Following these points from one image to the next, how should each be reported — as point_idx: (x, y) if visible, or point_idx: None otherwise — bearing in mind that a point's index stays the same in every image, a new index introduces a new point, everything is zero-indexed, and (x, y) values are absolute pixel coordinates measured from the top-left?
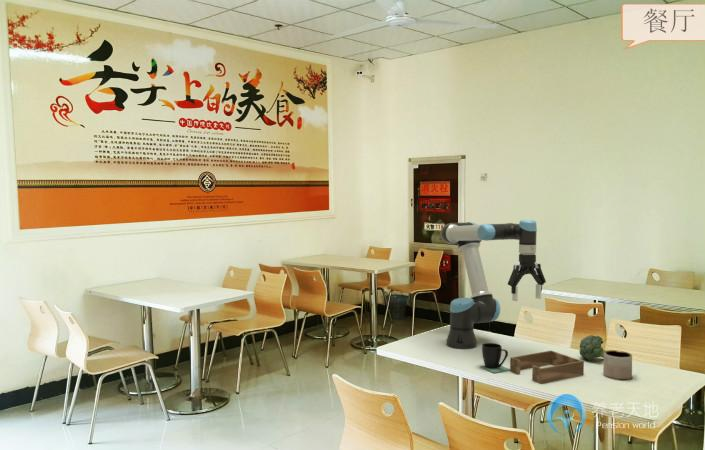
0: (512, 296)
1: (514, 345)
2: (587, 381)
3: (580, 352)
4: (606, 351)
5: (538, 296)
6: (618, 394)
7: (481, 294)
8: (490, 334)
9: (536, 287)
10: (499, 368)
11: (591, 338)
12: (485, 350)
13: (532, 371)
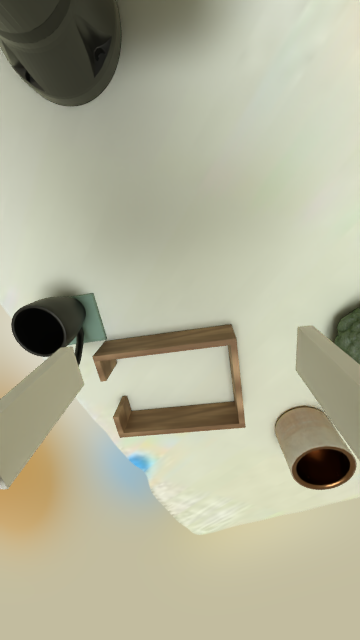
0: (43, 364)
1: (258, 107)
2: None
3: (341, 326)
4: (315, 450)
5: (304, 368)
6: (220, 480)
7: None
8: None
9: (355, 395)
10: (84, 328)
11: None
12: (23, 335)
13: (117, 408)
